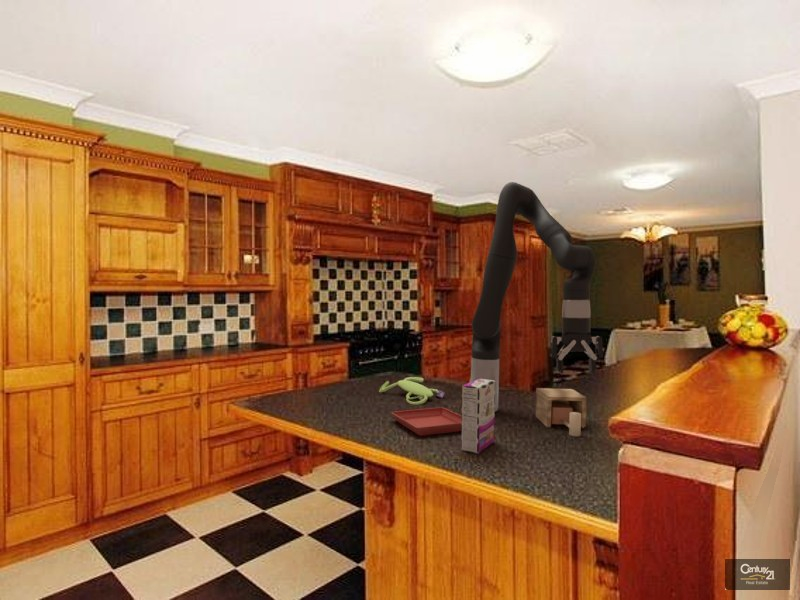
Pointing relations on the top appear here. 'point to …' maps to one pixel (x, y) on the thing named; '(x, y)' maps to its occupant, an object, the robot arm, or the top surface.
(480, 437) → the candy bar box
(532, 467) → the top surface
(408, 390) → the figurine
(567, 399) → the shelf cubby
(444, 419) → the plant saucer
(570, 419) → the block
